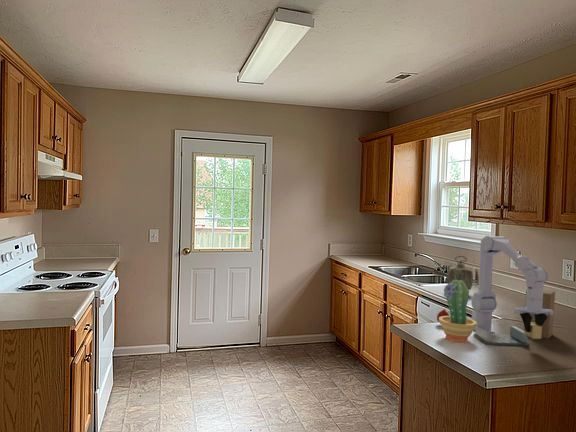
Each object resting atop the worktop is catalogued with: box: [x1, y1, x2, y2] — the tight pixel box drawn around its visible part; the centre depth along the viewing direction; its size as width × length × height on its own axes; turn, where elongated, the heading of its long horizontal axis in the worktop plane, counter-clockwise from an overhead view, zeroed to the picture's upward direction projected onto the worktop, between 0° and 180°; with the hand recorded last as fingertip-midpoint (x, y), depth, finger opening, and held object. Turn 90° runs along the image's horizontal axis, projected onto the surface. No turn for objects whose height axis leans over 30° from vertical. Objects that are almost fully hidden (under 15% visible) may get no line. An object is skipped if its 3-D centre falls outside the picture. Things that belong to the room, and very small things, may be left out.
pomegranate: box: [436, 308, 450, 325], centre depth 213 cm, size 6×6×8 cm
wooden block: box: [524, 289, 556, 340], centre depth 204 cm, size 10×10×20 cm
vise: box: [473, 325, 530, 347], centre depth 192 cm, size 12×18×5 cm, turn 91°
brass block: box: [523, 322, 542, 340], centre depth 181 cm, size 6×4×5 cm, turn 1°
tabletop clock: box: [446, 255, 474, 291], centre depth 289 cm, size 14×9×25 cm, turn 82°
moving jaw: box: [509, 325, 528, 343], centre depth 192 cm, size 10×2×4 cm, turn 1°
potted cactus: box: [438, 280, 477, 343], centre depth 192 cm, size 15×15×25 cm
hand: (532, 331), depth 181 cm, fingers closed on brass block, 3 cm apart
